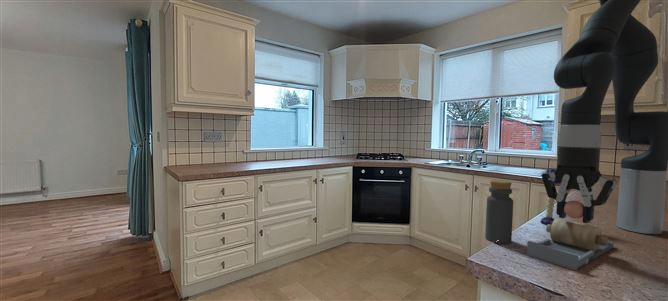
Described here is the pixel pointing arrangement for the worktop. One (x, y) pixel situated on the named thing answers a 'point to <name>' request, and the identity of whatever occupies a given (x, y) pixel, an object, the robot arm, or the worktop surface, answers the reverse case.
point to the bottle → (499, 213)
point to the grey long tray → (564, 253)
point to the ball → (574, 209)
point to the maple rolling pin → (576, 234)
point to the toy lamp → (550, 203)
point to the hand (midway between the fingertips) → (573, 219)
